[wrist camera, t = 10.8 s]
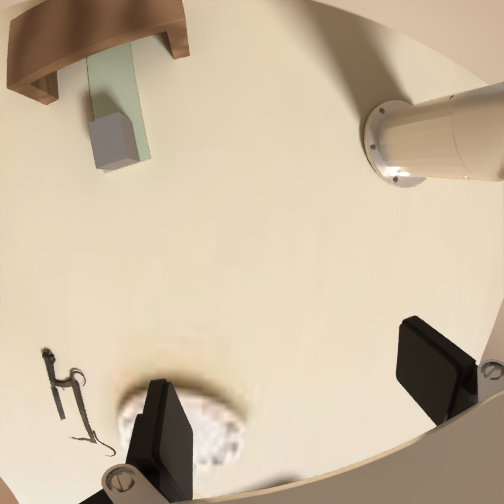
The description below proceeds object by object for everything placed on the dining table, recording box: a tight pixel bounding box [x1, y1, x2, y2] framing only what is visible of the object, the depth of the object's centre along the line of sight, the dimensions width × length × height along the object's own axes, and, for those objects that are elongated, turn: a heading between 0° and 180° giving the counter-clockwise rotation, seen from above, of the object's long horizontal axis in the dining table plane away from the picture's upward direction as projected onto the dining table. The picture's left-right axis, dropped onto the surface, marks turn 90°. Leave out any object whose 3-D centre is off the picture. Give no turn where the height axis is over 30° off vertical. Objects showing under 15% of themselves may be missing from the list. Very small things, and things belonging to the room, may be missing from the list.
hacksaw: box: [42, 350, 116, 456], centre depth 40 cm, size 24×10×2 cm, turn 172°
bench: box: [7, 0, 190, 105], centre depth 24 cm, size 20×10×10 cm, turn 102°
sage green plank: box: [87, 42, 151, 174], centre depth 27 cm, size 6×22×7 cm, turn 12°
